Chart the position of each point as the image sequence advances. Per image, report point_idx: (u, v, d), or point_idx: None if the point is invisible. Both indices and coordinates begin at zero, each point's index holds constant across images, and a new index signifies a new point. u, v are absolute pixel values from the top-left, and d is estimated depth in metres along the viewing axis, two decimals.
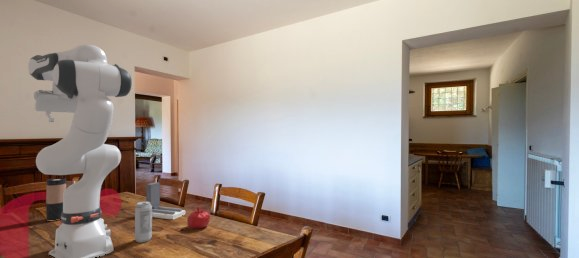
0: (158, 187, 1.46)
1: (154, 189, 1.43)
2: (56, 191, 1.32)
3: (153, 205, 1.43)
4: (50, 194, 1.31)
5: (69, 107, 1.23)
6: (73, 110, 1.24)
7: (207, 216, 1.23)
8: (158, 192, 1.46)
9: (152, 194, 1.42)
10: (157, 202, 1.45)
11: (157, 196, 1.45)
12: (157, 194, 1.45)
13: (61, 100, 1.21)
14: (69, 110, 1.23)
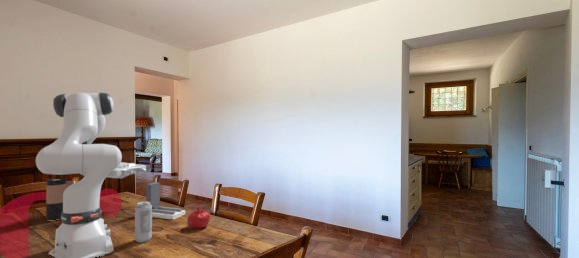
0: (158, 187, 1.46)
1: (154, 189, 1.43)
2: (56, 191, 1.32)
3: (153, 205, 1.43)
4: (50, 194, 1.31)
5: (131, 167, 1.51)
6: (135, 167, 1.51)
7: (207, 216, 1.23)
8: (158, 192, 1.46)
9: (152, 194, 1.42)
10: (157, 202, 1.45)
11: (157, 196, 1.45)
12: (157, 194, 1.45)
13: (122, 168, 1.49)
14: (133, 167, 1.50)
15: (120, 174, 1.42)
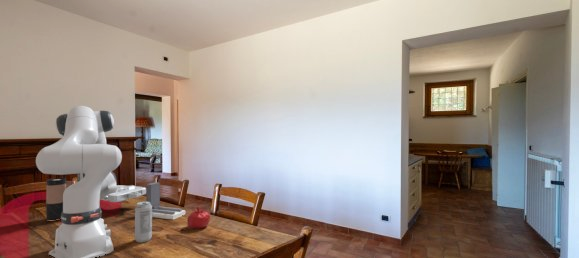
0: (158, 187, 1.46)
1: (154, 189, 1.43)
2: (56, 191, 1.32)
3: (153, 205, 1.43)
4: (50, 194, 1.31)
5: (131, 190, 1.51)
6: (135, 190, 1.52)
7: (207, 216, 1.23)
8: (158, 192, 1.46)
9: (152, 194, 1.42)
10: (157, 202, 1.45)
11: (157, 196, 1.45)
12: (157, 194, 1.45)
13: (122, 191, 1.49)
14: (133, 190, 1.50)
15: (120, 199, 1.42)
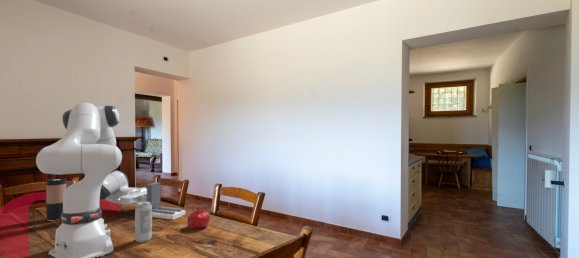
0: (159, 187, 1.46)
1: (155, 189, 1.43)
2: (56, 191, 1.32)
3: (154, 205, 1.42)
4: (50, 194, 1.31)
5: (143, 192, 1.48)
6: None
7: (207, 216, 1.23)
8: (159, 192, 1.46)
9: (153, 194, 1.42)
10: (158, 202, 1.45)
11: (158, 196, 1.45)
12: (158, 194, 1.45)
13: (134, 194, 1.46)
14: (145, 193, 1.47)
15: (132, 201, 1.39)
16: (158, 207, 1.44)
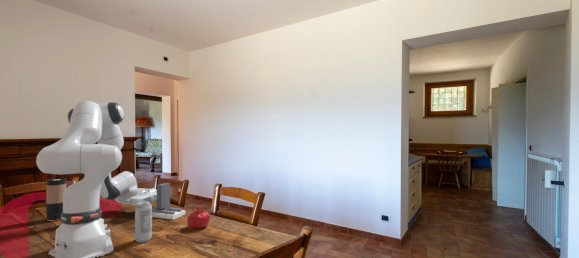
0: (168, 188, 1.44)
1: (164, 189, 1.41)
2: (56, 191, 1.32)
3: (163, 206, 1.40)
4: (50, 194, 1.31)
5: (152, 193, 1.46)
6: (156, 193, 1.47)
7: (207, 216, 1.23)
8: (168, 193, 1.44)
9: (162, 195, 1.40)
10: (167, 203, 1.43)
11: (167, 197, 1.43)
12: (167, 195, 1.43)
13: (143, 194, 1.44)
14: (154, 194, 1.45)
15: None
16: (168, 208, 1.42)
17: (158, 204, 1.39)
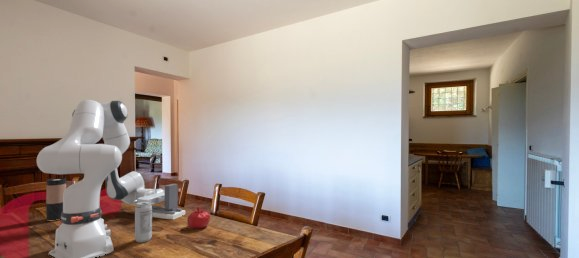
0: (176, 188, 1.42)
1: (172, 190, 1.40)
2: (56, 191, 1.32)
3: (171, 207, 1.39)
4: (50, 194, 1.31)
5: (159, 194, 1.44)
6: (164, 194, 1.45)
7: (207, 216, 1.23)
8: (176, 194, 1.42)
9: (170, 196, 1.38)
10: (175, 204, 1.42)
11: (175, 198, 1.42)
12: (175, 196, 1.42)
13: (151, 195, 1.43)
14: (162, 194, 1.44)
15: (150, 203, 1.36)
16: (176, 209, 1.41)
17: (165, 205, 1.38)
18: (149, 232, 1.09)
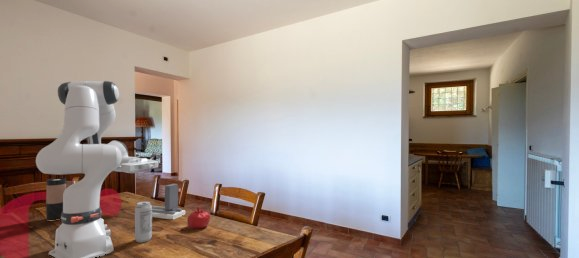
0: (176, 188, 1.42)
1: (172, 190, 1.39)
2: (56, 191, 1.32)
3: (172, 207, 1.39)
4: (50, 194, 1.31)
5: (143, 162, 1.47)
6: (148, 162, 1.48)
7: (207, 216, 1.23)
8: (176, 194, 1.42)
9: (171, 196, 1.38)
10: (175, 204, 1.42)
11: (175, 198, 1.42)
12: (175, 196, 1.42)
13: (135, 162, 1.46)
14: (146, 162, 1.47)
15: (133, 169, 1.39)
16: (176, 209, 1.40)
17: (166, 205, 1.38)
18: (149, 232, 1.09)
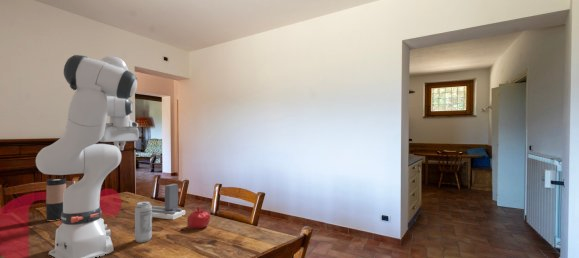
0: (176, 188, 1.42)
1: (172, 190, 1.39)
2: (56, 191, 1.32)
3: (172, 207, 1.39)
4: (50, 194, 1.31)
5: (124, 136, 1.40)
6: (127, 139, 1.41)
7: (207, 216, 1.23)
8: (176, 194, 1.42)
9: (171, 196, 1.38)
10: (175, 204, 1.42)
11: (175, 198, 1.42)
12: (175, 196, 1.42)
13: (119, 131, 1.38)
14: (124, 139, 1.40)
15: None
16: (176, 209, 1.40)
17: (166, 205, 1.38)
18: (149, 232, 1.09)
